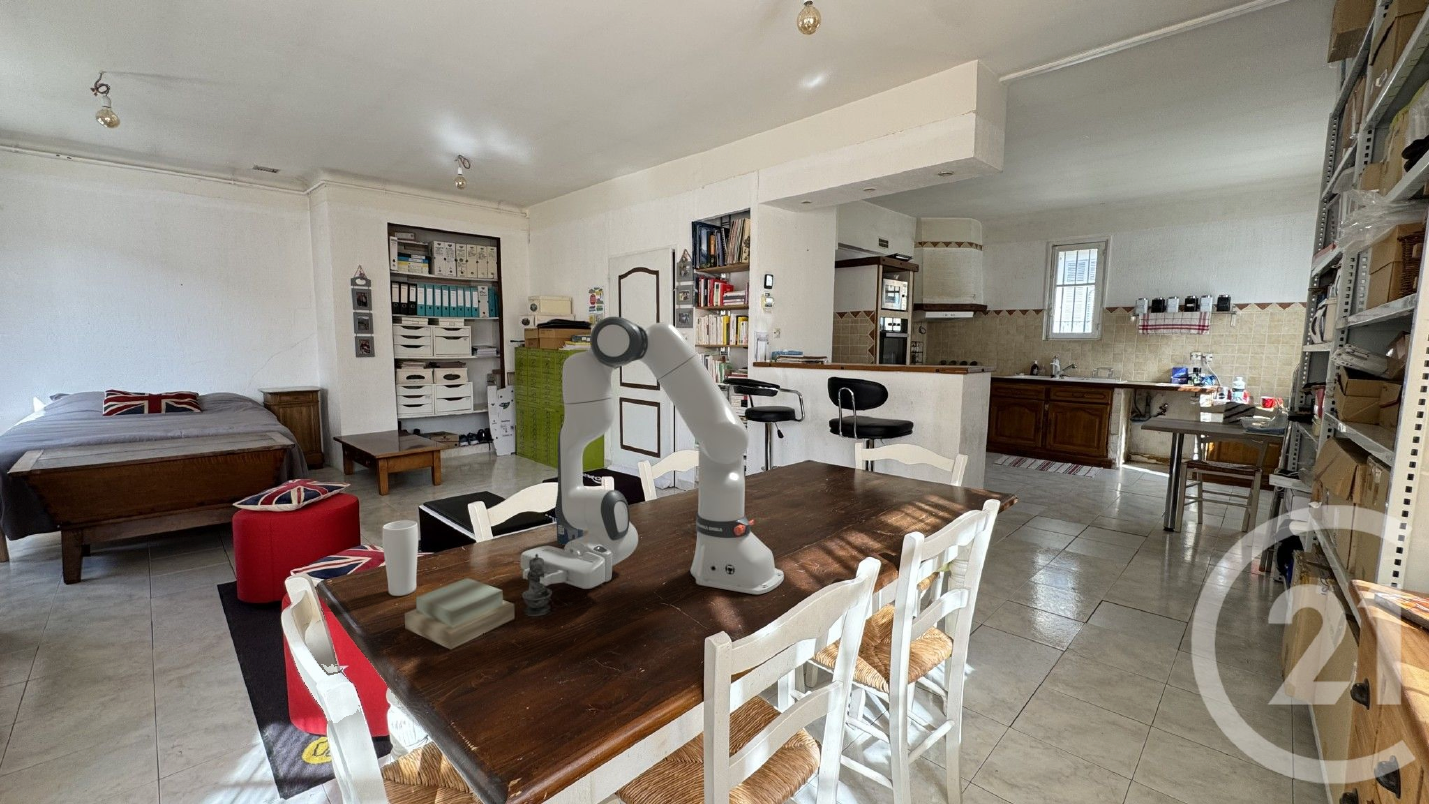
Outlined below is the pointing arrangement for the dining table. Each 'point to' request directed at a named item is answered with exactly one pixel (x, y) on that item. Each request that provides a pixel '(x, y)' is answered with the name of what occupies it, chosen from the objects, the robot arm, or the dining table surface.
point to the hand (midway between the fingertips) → (533, 578)
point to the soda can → (567, 534)
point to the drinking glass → (401, 556)
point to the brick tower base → (460, 630)
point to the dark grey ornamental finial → (536, 590)
